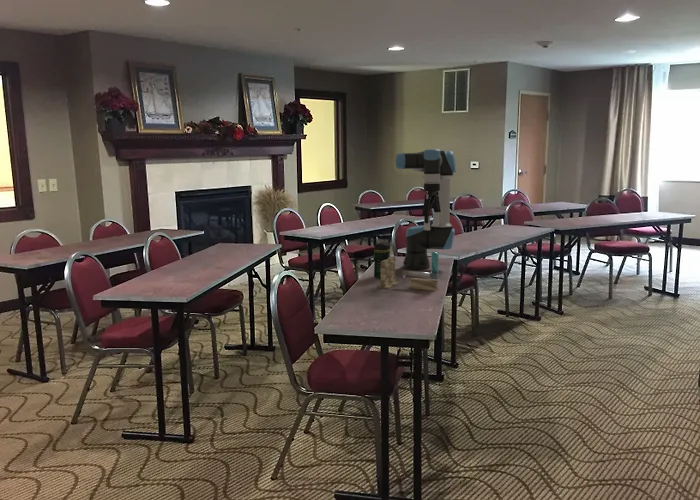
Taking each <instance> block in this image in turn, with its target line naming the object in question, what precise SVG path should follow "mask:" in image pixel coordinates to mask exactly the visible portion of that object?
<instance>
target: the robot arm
mask: <svg viewBox="0 0 700 500" xmlns="http://www.w3.org/2000/svg"><path fill="white" fill-rule="evenodd" d="M456 165H457V164H456V157H455V154H454V152H453V151H452V150H440V149H439V148H438V149H437V148H435V149H434V148H429V149H428V148H427V149H424V150H423V151H418V152H411V153H410V152H402V153H401V152H400V153H397V154H396V156H395V167H396V168H397V169H399V170H400V169H401V170H412V171H415V172H420V173H423V176H422V178H423V182H424V183H423V191H424V192H425V193H426V192H427V193H426V194H425V193H424V201H423V207H422V214H421V216H422V217H423V225H415V226H409V227H408V228H406V231H405V233H406V234H405V237H406V239H405V243H406V244H405V245H406V246H405V247H406V248H405V251H406V253H405V256H404V260H403V262H402V267H403V268H404V269H408V270H415V269H416V271H417V270H427V269H430V268H431V262H430V259H429V256H428V250H443V251H444V250H446V251H447V250H451V249H452V248H453V245H454V244H453V243H454V239H455V232H456V230H455V228H453V225H452V223H450V219H451V218H450V216H451V215H450V212H451V211H450V209H451V208H450V207H451V203H450V201H451V178H452V177H453V176H454V173H456V171H457V166H456ZM431 209H432V210H433V212H432V224H431V216H430V214H431Z"/></svg>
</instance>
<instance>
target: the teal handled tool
mask: <svg viewBox="0 0 700 500" xmlns="http://www.w3.org/2000/svg"><path fill="white" fill-rule="evenodd" d="M406 276H411V277H424V278H430V280H439V279H440V272H439V252H438V251H432V252H431V272H425V271H417V270H416V271H414V270H413V271H412V270H402V278H406Z"/></svg>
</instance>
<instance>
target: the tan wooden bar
mask: <svg viewBox="0 0 700 500" xmlns="http://www.w3.org/2000/svg"><path fill="white" fill-rule="evenodd" d="M409 289H416V290H425V291H434V292H435V291H437V290H439V279H427V278H426V279H425V278H416V277H411V278H409Z"/></svg>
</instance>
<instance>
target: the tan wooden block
mask: <svg viewBox="0 0 700 500" xmlns="http://www.w3.org/2000/svg"><path fill="white" fill-rule="evenodd" d="M399 283H400V281H398V280H396V257H395V256H390V258H388V259H386V260H384V261H381V278H380V284H379V285H376V288H377V289H384V288H386V290H390V288H392V287H394V286H396V285H398V284H399Z"/></svg>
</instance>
